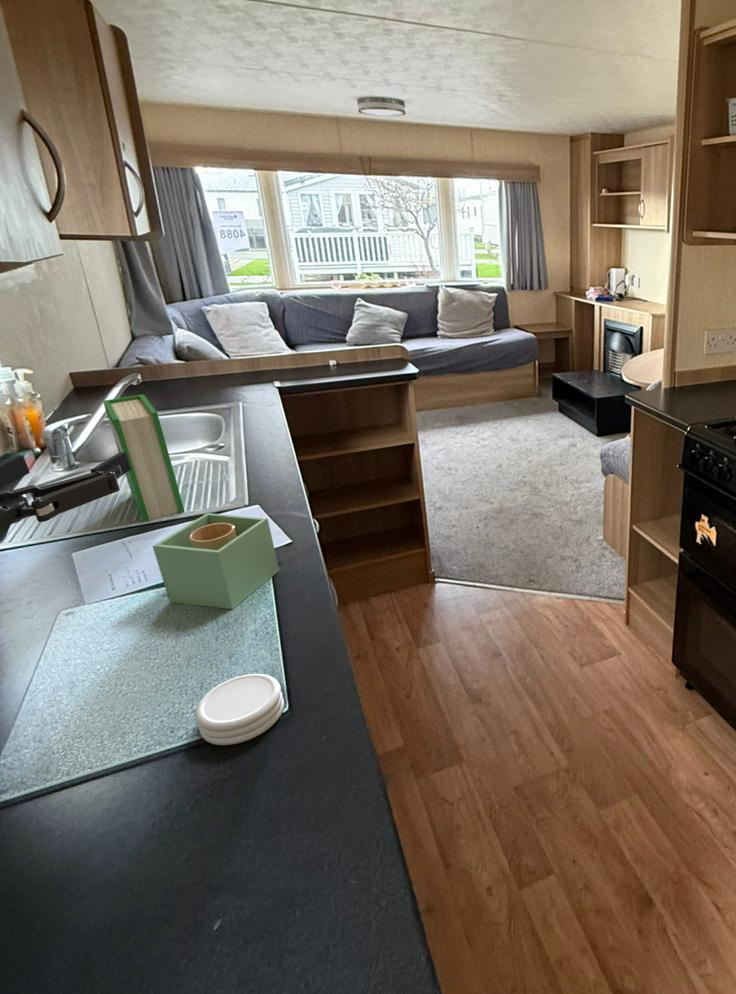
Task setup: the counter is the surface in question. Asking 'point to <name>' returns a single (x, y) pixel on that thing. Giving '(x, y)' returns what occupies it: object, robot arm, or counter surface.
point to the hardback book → (144, 456)
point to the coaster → (239, 709)
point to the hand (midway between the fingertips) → (75, 462)
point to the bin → (217, 563)
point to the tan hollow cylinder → (212, 536)
